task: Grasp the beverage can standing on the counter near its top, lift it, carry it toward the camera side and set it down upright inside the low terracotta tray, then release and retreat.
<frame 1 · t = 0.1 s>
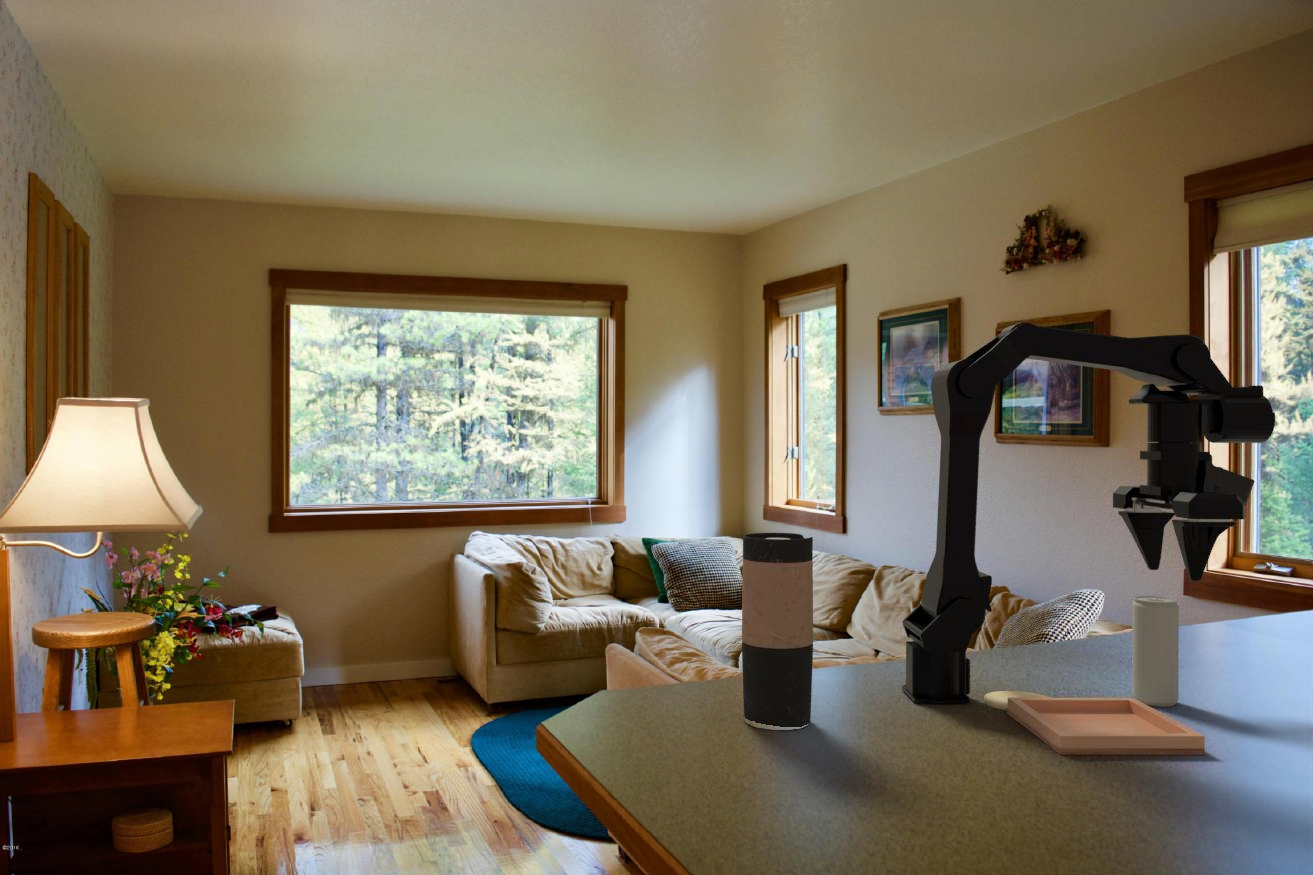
hand: (1173, 574, 116), 15 cm above the kitchen counter, fingers open, 9 cm apart
beverage can: (1155, 703, 114), on the kitchen counter
tray: (1099, 732, 102), on the kitchen counter
travel mug: (777, 723, 106), on the kitchen counter
cork coaster: (1021, 704, 113), on the kitchen counter
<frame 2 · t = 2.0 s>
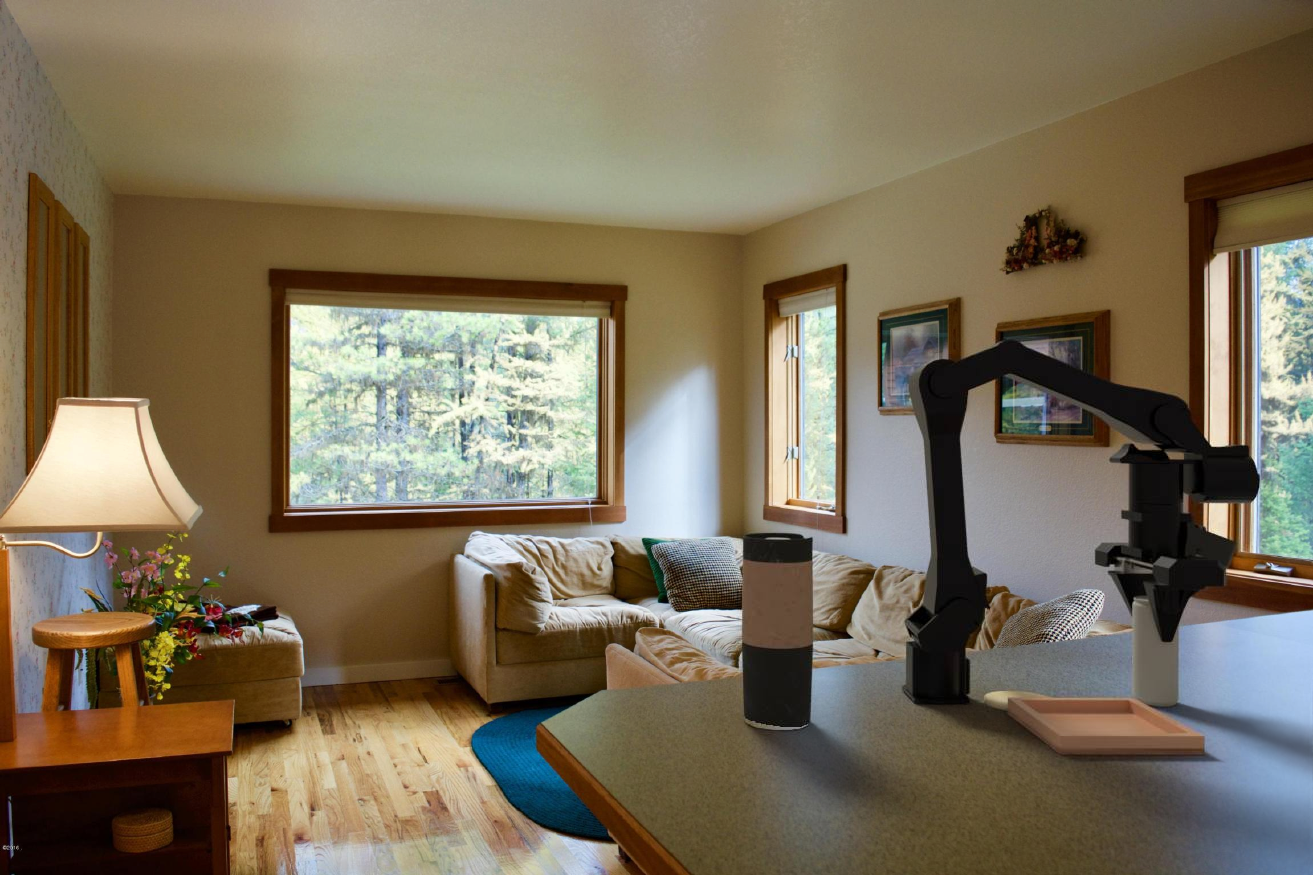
hand: (1155, 637, 114), 8 cm above the kitchen counter, fingers closed on beverage can, 5 cm apart
beverage can: (1155, 703, 114), on the kitchen counter, touching gripper
everything else where it was.
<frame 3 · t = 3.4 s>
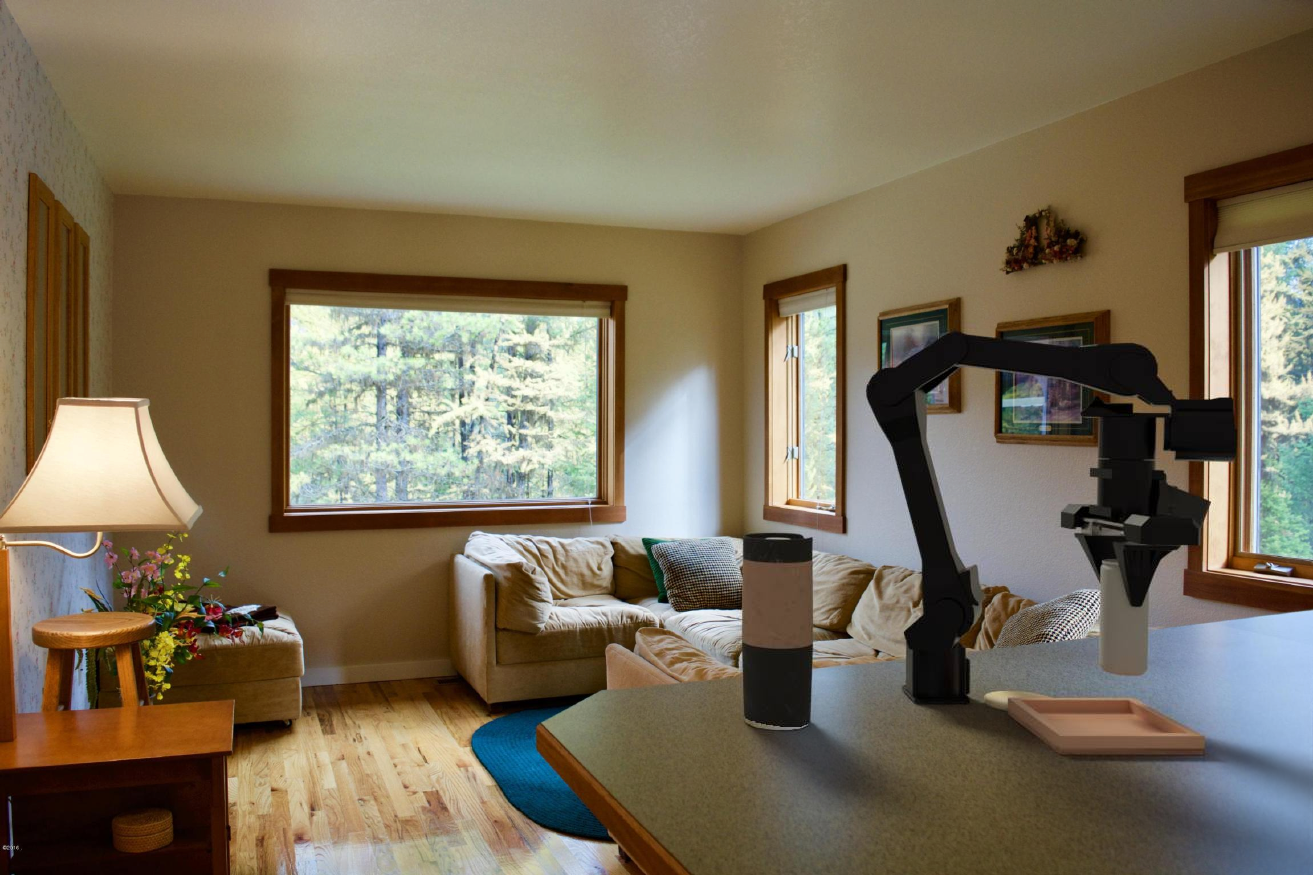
hand: (1123, 602, 107), 13 cm above the kitchen counter, fingers closed on beverage can, 5 cm apart
beverage can: (1122, 673, 107), point 5 cm above the kitchen counter, touching gripper
everything else where it was.
when the fingers open (9 cm above the kitchen counter, at t = 5.3 s): beverage can stays where it is, resting on tray.
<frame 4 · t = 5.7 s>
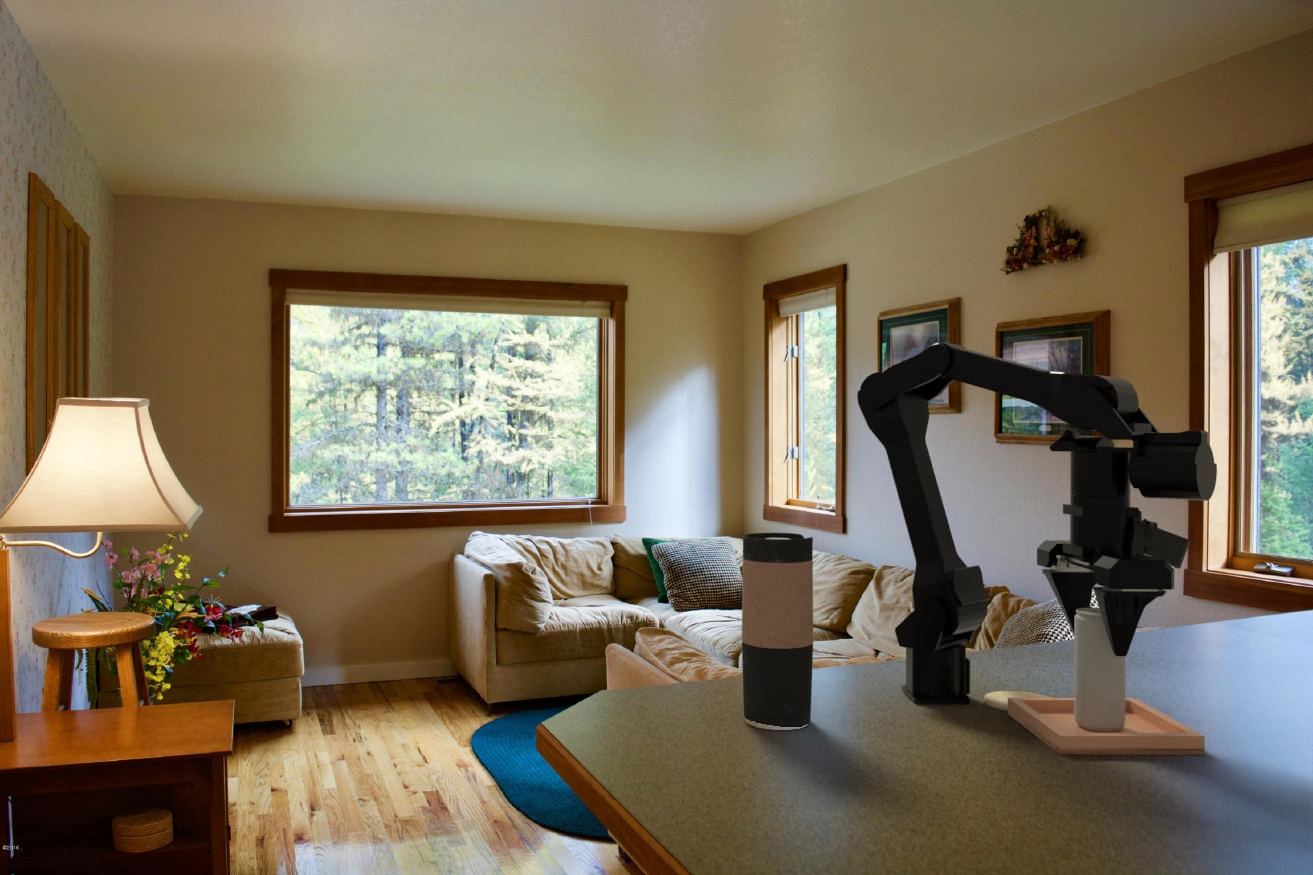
hand: (1099, 646, 102), 9 cm above the kitchen counter, fingers open, 9 cm apart
beverage can: (1099, 728, 102), resting on tray
everything else where it was.
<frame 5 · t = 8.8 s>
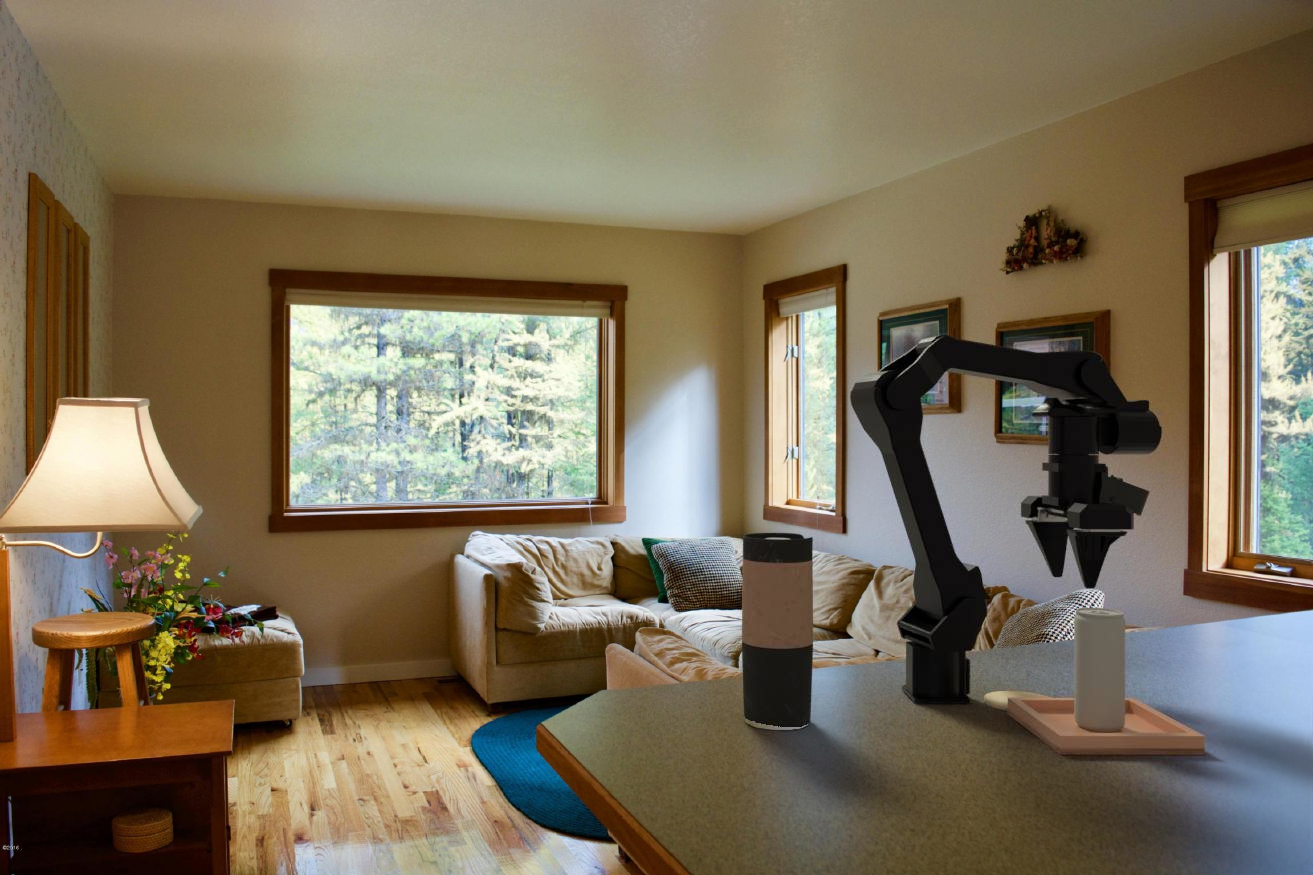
hand: (1073, 582, 120), 13 cm above the kitchen counter, fingers open, 9 cm apart
nothing on the kitchen counter moved.
at the end: beverage can inside the target area on the tray (0.1 cm from its centre), point 0.4 cm above the tray's base; beverage can tilted 0°; the gripper is holding nothing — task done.
